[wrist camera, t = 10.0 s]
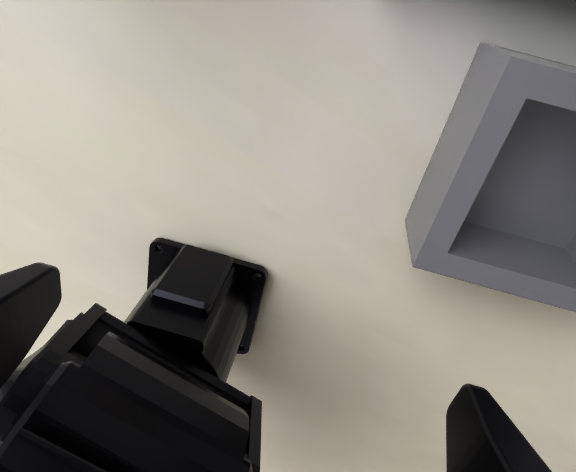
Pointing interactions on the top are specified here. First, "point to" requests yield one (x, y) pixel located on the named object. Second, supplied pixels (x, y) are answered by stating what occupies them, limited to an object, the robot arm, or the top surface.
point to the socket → (504, 181)
